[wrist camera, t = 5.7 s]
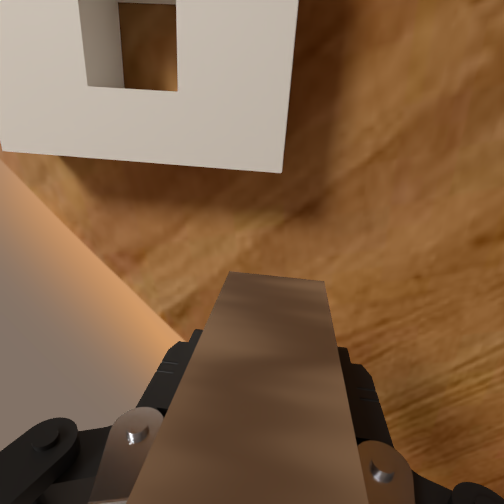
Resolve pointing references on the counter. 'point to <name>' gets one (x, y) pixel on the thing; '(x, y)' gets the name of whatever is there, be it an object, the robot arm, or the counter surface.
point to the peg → (259, 406)
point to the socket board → (148, 101)
